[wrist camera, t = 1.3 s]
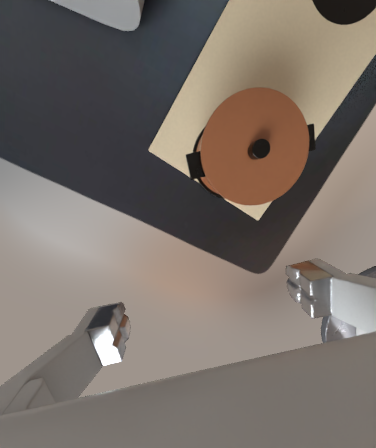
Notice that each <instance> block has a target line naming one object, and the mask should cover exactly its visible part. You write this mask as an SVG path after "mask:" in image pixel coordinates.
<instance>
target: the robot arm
mask: <svg viewBox="0 0 376 448" xmlns="http://www.w3.org/2000/svg"><path fill="white" fill-rule="evenodd" d="M286 275H287V276H289V279H288V280H287V289H288V291H289V294H290V296H291V297H292V298H293V299H294V301H295V302H298V303H301V304H302V309H303V310H304V311H305V312H306V313H307V314H308V315H309V316H310V317H311V318H319V317H324V316H329V315H332V316H333V317H335V318H338V319H340V320H342V321H344V322H346V323H348V324H350V325H352V326H354V327H356V336H352V337H348V338H343V339H339V340H335V341H330V342H326V343H321V344H317V345H313V346H308V347H304V348H300V349H295V350H290V351H286V352H281V353H277V354H272V355H268V356H263V357H259V358H254V359H250V360H245V361H241V362H237V363H232V364H227V365H223V366H218V367H214V368H209V369H205V370H200V371H196V372H191V373H187V374H183V375H178V376H174V377H169V378H165V379H160V380H157V381H152V382H147V383H143V384H138V385H134V386H130V387H125V388H121V389H116V390H112V391H108V392H103V393H99V394H94V395H89V396H85V397H80V398H78V397H79V396H80V395H81V393H82V392H83V391H84V390H85V388H86V387H87V386H88V384H89V383H90V382H91V381H92V379H93V378H94V377H95V376H96V374H97V373H98V372H99V371H100V369H101V368H102V366H105V365H108V364H112V363H116V362H120V361H122V359H123V355H124V352H125V349H126V346H125V342H126V341H127V340H128V338H129V335H130V321H129V318H128V316H126V315H125V314H124V312H125V307H124V304H123V303H122V302H118V303H114V304H108V305H103V306H98V307H94V308H90V309H89V310H88V311H87V313H86V314H85V316H84V317H83V319H82V320H81V322H80V323H79V325H78V326H77V327H76V329H75V330H74V332H73V333H72V335H68V336H67V337H66V338H64V339H63V340H61V341H60V342H59V343H58V344H56V345H55V346H53V347H52V348H51V349H49V350H48V351H47V352H45V353H44V354H43V355H41V356H40V357H39V358H37V359H36V360H35V361H33V362H32V363H31V364H29V365H28V366H27V367H25V368H24V369H23V370H21V371H20V372H19V373H17V374H16V375H15V376H13V377H12V378H11V379H9V380H8V381H7V382H5V383H4V384H3V385H1V386H0V448H376V278H372V277H367V276H362V275H357V274H352V273H349V274H346V273H344V272H342V271H341V270H339V269H337V268H335V267H333V266H332V265H330V264H328V263H326V262H324V261H322V260H321V259H313V260H309V261H305V262H301V263H297V264H293V265H289V266H286Z"/></svg>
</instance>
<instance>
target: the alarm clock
mask: <svg viewBox="0 0 376 448" xmlns="http://www.w3.org/2000/svg"><path fill="white" fill-rule="evenodd" d="M50 1H52V2H55V3H57V4H59V5H62V6H64V7H66V8H68V9H71V10H73V11H75V12H77V13H80V14H82V15H84V16H87V17H89V18H91V19H93V20H96V21H98V22H100V23H102V24H105V25H108V26H111V27H114V28H117V29H119V30H122V31H133V30H135V29H136V28H137V27H138V26H139V22H140V18H141V13H142V9H143V5H144V0H50Z"/></svg>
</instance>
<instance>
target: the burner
mask: <svg viewBox="0 0 376 448" xmlns="http://www.w3.org/2000/svg"><path fill="white" fill-rule="evenodd" d="M312 1H313V3H314V5H315V7H316V9H317V10H318V12H319V13H320V14H321V15H322V16H323V17H324V18H325V19H326V20H328V21H330V22H332V23H335V24H339V25H348V24H353V23H356V22H358V21H360V20H362V19H364V18H365V17H367V16H368V15H369V14H370V13H371V12H372V11H373V10H374V9H375V8H376V0H312Z"/></svg>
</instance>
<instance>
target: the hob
mask: <svg viewBox="0 0 376 448" xmlns="http://www.w3.org/2000/svg"><path fill="white" fill-rule="evenodd" d="M375 54H376V8H375V9H374V10H373V11H372V12H371V13H370V14H369V15H368V16H367V17H365V18H364V19H362V20H360V21H358V22H356V23H353V24H348V25H339V24H335V23H332V22H330V21H328V20H326V19H325V18H324V17H323V16H322V15H321V14H320V13H319V12H318V10H317V9H316V7H315V5H314V3H313V1H312V0H229V2H228V4H227V5H226V7H225V9H224V11H223V13H222V15H221V16H220V18H219V20H218V22H217V24H216V26H215V28H214V29H213V31H212V33H211V35H210V37H209V39H208V41H207V42H206V44H205V46H204V48H203V50H202V52H201V53H200V55H199V57H198V59H197V61H196V63H195V65H194V66H193V68H192V70H191V72H190V74H189V76H188V78H187V79H186V81H185V83H184V85H183V87H182V89H181V90H180V92H179V94H178V96H177V98H176V100H175V102H174V103H173V105H172V107H171V109H170V111H169V113H168V115H167V116H166V118H165V120H164V122H163V124H162V126H161V127H160V129H159V131H158V133H157V135H156V137H155V139H154V140H153V142H152V144H151V146H150V148H149V151H150V152H151V153H153V154H155V155H156V156H158V157H159V158H161V159H162V160H164V161H165V162H167V163H169V164H170V165H172V166H173V167H175V168H176V169H178V170H179V171H181V172H183V173H184V174H186V175H187V176H189V177H190V174H189V169H188V165H187V161H186V154H189V153H193V148H194V145H195V142H196V139H197V137H198V136H199V134H200V133H201V131H202V130H203V129H204V128H205V126H206V124H207V122H208V120H209V118H210V117H211V115H212V114H213V112H214V111H215V110H216V108H217V107H218V106H219V105H220V104H221V103H222V102H223V101H224V100H226V99H227V98H228V97H230V96H231V95H233V94H235V93H237V92H239V91H242V90H245V89H248V88H255V87H264V88H270V89H274V90H277V91H279V92H281V93H283V94H285V95H286V96H288V97H289V98H290V99H291V100H292V101H293V102H294V103H295V104H296V105H297V106H298V107H299V109H300V110H301V112H302V114H303V116H304V118H305V120H306V123H307V125H309V124H314V131H315V139H316V138H317V137H318V135H319V134H320V132H321V131H322V129H323V128H324V127H325V125H326V124H327V122H328V121H329V119H330V118H331V117H332V115H333V114H334V112H335V111H336V110H337V108H338V107H339V105H340V104H341V102H342V101H343V100H344V98H345V97H346V95H347V94H348V92H349V91H350V90H351V88H352V87H353V85H354V84H355V83H356V81H357V80H358V78H359V77H360V75H361V74H362V73H363V71H364V70H365V68H366V67H367V65H368V64H369V63H370V61H371V60H372V58H373V57H374V56H375ZM194 180H195V181H197V182H198V183H199V181H198V180H197V179H194ZM225 200H226V201H228V202H229V203H231V204H233V205H234V206H236V207H237V208H239V209H240V210H242V211H244V212H245V213H247V214H248V215H250V216H251V217H253V218H254V219H256V220H259V219H260V218H261V216H262V215H263V213H264V212H265V210H266V209H267V208H268V206H269V205H270V203H271V202H272V201H271V202H268V203H265V204H261V205H251V206H249V205H241V204H237V203H234V202H231V201H229V200H227V199H225Z"/></svg>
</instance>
